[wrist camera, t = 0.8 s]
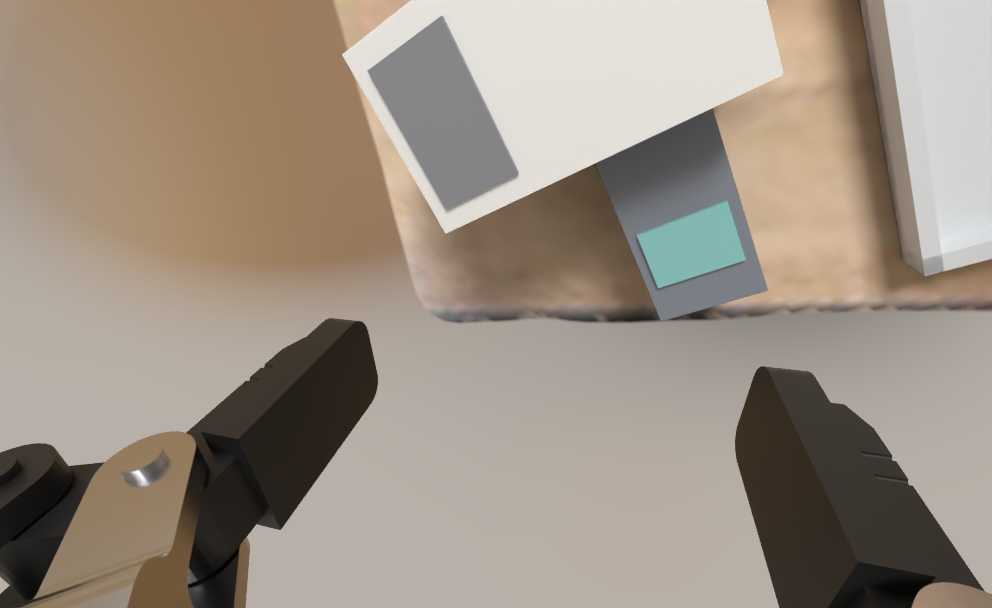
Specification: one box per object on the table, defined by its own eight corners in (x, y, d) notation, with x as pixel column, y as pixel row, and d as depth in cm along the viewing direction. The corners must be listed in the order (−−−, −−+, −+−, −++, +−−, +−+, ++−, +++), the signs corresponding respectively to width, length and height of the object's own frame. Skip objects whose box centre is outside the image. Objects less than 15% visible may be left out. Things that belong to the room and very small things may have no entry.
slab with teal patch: (665, 14, 21) (680, 1, 16) (738, 244, 25) (768, 292, 20) (570, 70, 23) (556, 74, 18) (653, 272, 28) (661, 323, 22)
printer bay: (673, -118, 19) (711, -241, 11) (725, 67, 21) (785, 74, 14) (428, 54, 24) (339, 54, 17) (494, 184, 27) (443, 235, 19)
